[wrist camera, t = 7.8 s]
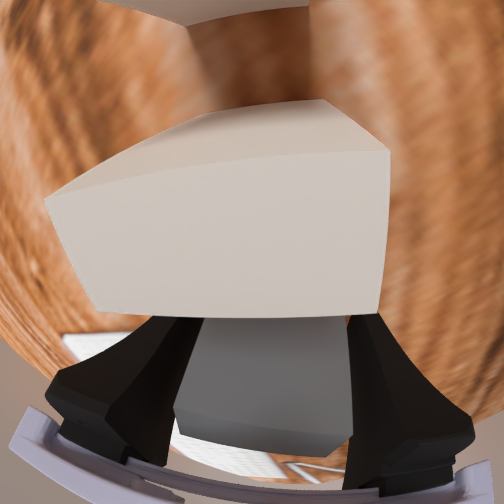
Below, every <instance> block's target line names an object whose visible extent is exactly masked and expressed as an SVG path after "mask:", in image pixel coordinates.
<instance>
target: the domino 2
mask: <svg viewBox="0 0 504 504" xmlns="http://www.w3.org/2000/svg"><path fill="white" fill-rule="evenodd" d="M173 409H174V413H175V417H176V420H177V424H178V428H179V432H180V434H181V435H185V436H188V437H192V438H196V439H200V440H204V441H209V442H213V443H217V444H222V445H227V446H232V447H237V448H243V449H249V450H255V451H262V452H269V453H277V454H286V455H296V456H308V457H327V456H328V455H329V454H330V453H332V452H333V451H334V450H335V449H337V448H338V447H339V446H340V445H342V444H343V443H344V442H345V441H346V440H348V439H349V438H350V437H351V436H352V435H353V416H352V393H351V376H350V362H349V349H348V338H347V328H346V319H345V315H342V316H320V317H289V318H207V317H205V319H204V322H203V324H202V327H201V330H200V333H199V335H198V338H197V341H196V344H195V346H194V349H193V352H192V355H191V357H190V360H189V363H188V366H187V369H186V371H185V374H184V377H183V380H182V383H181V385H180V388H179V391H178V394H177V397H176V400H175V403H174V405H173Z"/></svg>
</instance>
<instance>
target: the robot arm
mask: <svg viewBox="0 0 504 504" xmlns="http://www.w3.org/2000/svg"><path fill="white" fill-rule="evenodd" d="M204 319H205V317H175V316H154V315H153V316H152V317H151V318H150V319H149V320H147V321H146V322H145V323H144V324H143V325H142V326H140V327H139V328H138V329H136V330H135V331H134V332H132V333H131V334H130V335H128V336H127V337H125V338H124V339H123V340H121V341H119V342H118V343H116V344H114V345H113V346H111V347H109V348H108V349H106V350H104V351H103V352H101V353H99V354H97V355H95V356H93V357H91V358H89V359H87V360H84V361H82V362H80V363H77V364H75V365H72V366H69V367H67V368H64V369H61V370H59V371H58V372H57V374H56V375H55V377H54V379H53V380H52V383H51V384H50V386H49V388H48V389H47V391H46V393H45V398H46V400H47V401H48V402H49V404H50V405H51V406H52V407H53V408H54V409H55V410H56V411H57V412H58V413H59V414H60V415H61V416H62V417H63V418H64V421H63V423H62V425H61V426H60V425H58V423H57V422H56V421H55V420H53V419H52V418H51V417H50V416H48V415H47V414H45V413H43V412H42V411H40V410H38V409H36V408H35V407H33V406H31V405H29V407H28V409H27V411H26V412H25V414H24V416H23V418H22V420H21V422H20V424H19V426H18V428H17V430H16V432H15V434H14V436H13V438H12V440H11V442H10V444H9V449H11V450H12V451H13V452H15V453H16V454H17V455H19V456H20V457H21V458H22V459H24V460H25V461H27V462H28V463H29V464H31V465H32V466H33V467H35V468H36V469H38V470H39V471H41V472H42V473H43V474H45V475H46V476H48V477H49V478H51V479H52V480H54V481H56V482H57V483H58V484H60V485H62V486H63V487H65V488H67V489H68V490H70V491H72V492H73V493H75V494H77V495H78V496H80V497H82V498H84V499H86V500H88V501H89V502H91V503H93V504H184V502H185V499H184V498H182V497H180V496H177V495H175V494H174V493H172V491H170V490H168V489H165V488H162V487H159V486H156V485H154V484H151V483H149V482H146V481H145V480H148V481H151V482H154V483H157V484H160V485H164V486H167V487H170V488H174V489H178V490H182V491H185V492H189V493H194V494H198V495H202V496H207V497H212V498H217V499H222V500H228V501H234V502H241V503H248V504H494V495H493V494H494V493H493V484H492V474H491V467H490V460H488V459H487V460H484V461H481V462H478V463H475V464H472V465H469V466H467V467H464V468H462V469H460V470H459V471H457V472H456V473H454V474H453V470H452V465H453V464H455V462H456V460H455V455H456V454H457V453H459V452H461V451H462V450H464V449H465V448H466V447H468V446H469V445H470V444H471V443H472V442H473V441H474V440H475V431H474V426H473V422H472V419H471V416H469V415H468V414H467V413H465V412H464V411H462V410H461V409H460V408H458V407H457V406H456V405H454V404H453V403H452V402H451V401H450V400H448V399H447V398H446V397H445V396H444V395H443V394H441V393H440V392H439V391H438V390H437V389H436V388H435V387H434V386H433V385H432V384H431V383H430V382H429V381H428V380H427V379H426V378H425V377H424V376H423V374H422V373H421V372H420V371H419V370H418V369H417V367H416V366H415V365H414V364H413V363H412V362H411V360H410V359H409V358H408V356H407V355H406V354H405V352H404V351H403V350H402V348H401V347H400V345H399V344H398V342H397V341H396V339H395V338H394V336H393V335H392V333H391V332H390V330H389V329H388V327H387V326H386V324H385V322H384V321H383V319H382V317H381V316H380V314H379V313H378V311H377V313H373V314H359V315H351V317H350V320H349V323H348V326H347V338H348V349H349V362H350V376H351V393H352V416H353V435H352V436H351V437H350V438H349V446H348V455H347V463H346V470H345V476H344V482H343V487H342V490H327V491H326V490H325V491H317V490H315V491H313V490H288V489H273V488H264V487H254V486H246V485H240V484H233V483H227V482H222V481H216V480H211V479H206V478H202V477H197V476H193V475H188V474H185V473H181V472H177V471H173V470H170V469H166V468H163V467H164V466H165V465H166V464H167V457H168V451H169V445H170V439H171V434H172V429H173V425H174V420H175V413H174V409H173V405H174V403H175V400H176V397H177V394H178V391H179V388H180V385H181V383H182V380H183V377H184V374H185V371H186V369H187V366H188V363H189V360H190V357H191V355H192V352H193V349H194V346H195V344H196V341H197V338H198V335H199V333H200V330H201V327H202V324H203V322H204ZM144 479H145V480H144Z"/></svg>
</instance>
